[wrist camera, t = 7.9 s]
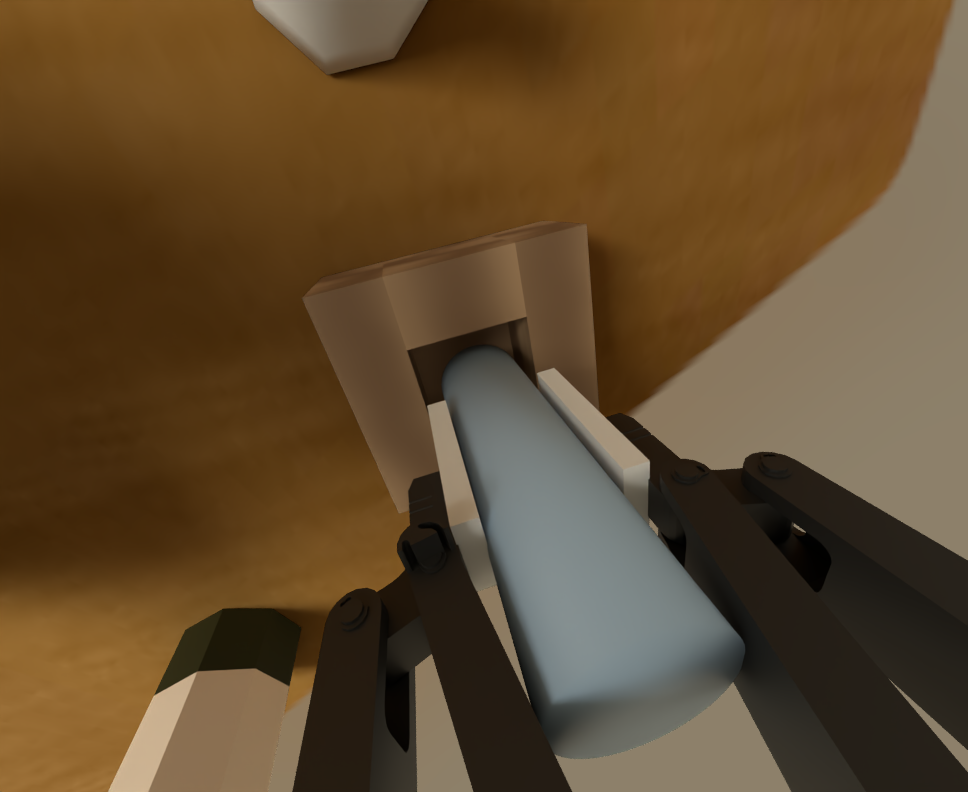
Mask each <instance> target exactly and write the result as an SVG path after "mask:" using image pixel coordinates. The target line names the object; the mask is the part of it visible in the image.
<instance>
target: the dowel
mask: <svg viewBox="0 0 968 792" xmlns="http://www.w3.org/2000/svg"><path fill="white" fill-rule="evenodd" d="M441 386H442V392H443V396H444V400H446V404H447V407H448V410H449V414H450V417H451V420H452V424H453V427H454V431H455V434H456V438H457V441H458V444H459V448H460V451H461V455H462V458H463V462H464V465H465V469H466V472H467V476H468V479H469V482H470V486H471V489H472V493H473V496H474V500H475V503H476V507H477V510H478V514H479V517H480V521H481V524H482V527H483V531H484V534H485V538H486V541H487V547H488V554H489V559H490V562H491V566H492V569H493V573H494V576H495V580H496V583H497V586H498V590H499V594H500V597H501V601H502V604H503V608H504V611H505V615H506V618H507V622H508V625H509V629H510V633H511V636H512V639H513V643H514V647H515V650H516V653H517V657H518V661H519V664H520V668H521V671H522V675H523V679H524V682H525V686H526V689H527V693H528V696H529V700H530V703H531V707H532V709H533V711H534V713H535V715H536V717H537V719H538V721H539V723H540V725H541V727H542V730H543V732H544V734H545V736H546V738H547V740H548V742H549V744H550V746H551V748H552V751H553V753H554V754H555V755H558V756H561V757H565V758H571V759H572V758H573V759H589V758H597V757H603V756H609V755H613V754H617V753H621V752H624V751H627V750H630V749H633V748H636V747H638V746H641V745H644V744H646V743H649V742H651V741H653V740H655V739H658V738H660V737H662V736H664V735H666V734H668V733H670V732H671V731H673V730H675V729H677V728H678V727H680V726H682V725H683V724H685V723H687V722H688V721H690V720H691V719H693V718H694V717H695V716H697V715H698V714H700V713H701V712H702V711H704V710H705V709H706V708H707V707H709V706H710V705H711V704H712V703H713V702H714V701H716V700H717V699H718V698H719V697H720V696H721V695H722V694H723V693H724V692H725V691H726V690H727V688H728V687H729V686H730V685H731V683H732V682H733V681H734V679H735V678H736V677H737V675H738V673H739V671H740V670H741V667H742V663H743V659H744V655H745V645H744V642H743V640H742V639H741V637H740V636H739V635H738V634H737V632H736V631H735V630H734V629H733V628H732V626H731V625H730V624H729V623H728V621H727V620H726V619H725V618H724V617H723V615H722V614H721V613H720V612H719V610H718V609H717V608H716V607H715V605H714V604H713V603H712V602H711V601H710V599H709V598H708V597H707V596H706V594H705V593H704V592H703V591H702V590H701V588H700V587H699V586H698V585H697V583H696V582H695V581H694V580H693V579H692V577H691V576H690V575H689V574H688V572H687V571H686V570H685V569H684V568H683V566H682V565H681V564H680V563H679V561H678V560H677V559H676V558H675V557H674V555H673V554H672V553H671V552H670V550H669V549H668V548H667V547H666V546H665V544H664V543H663V542H662V541H661V539H660V538H659V537H658V536H657V535H656V533H655V532H654V531H653V530H652V528H650V526H649V525H648V524H647V522H646V521H645V520H644V519H643V517H642V516H641V515H640V514H639V513H638V511H637V510H636V509H635V508H634V506H633V505H632V504H631V503H630V502H629V500H628V499H627V498H626V497H625V495H624V494H623V493H622V492H621V491H620V489H619V488H618V487H617V486H616V484H615V483H614V482H613V481H612V479H611V478H610V477H609V476H608V475H607V473H606V472H605V471H604V470H603V468H602V467H601V466H600V465H599V464H598V462H597V461H596V460H595V459H594V457H593V456H592V455H591V454H590V453H589V451H588V450H587V449H586V448H585V446H584V445H583V444H582V443H581V442H580V440H579V439H578V438H577V437H576V435H575V434H574V433H573V432H572V431H571V429H570V428H569V427H568V426H567V424H566V423H565V422H564V421H563V420H562V418H561V417H560V416H559V415H558V413H557V412H556V411H555V410H554V409H553V407H552V406H551V405H550V404H549V402H548V401H547V400H546V399H545V398H544V396H543V395H542V394H541V393H540V391H539V390H538V389H537V388H536V387H535V385H534V384H533V383H532V382H531V380H530V379H529V378H528V377H527V376H526V374H525V373H524V372H523V371H522V369H521V368H520V367H519V366H518V365H517V363H516V362H515V361H514V360H513V358H512V357H511V356H510V355H509V354H508V353H507V352H506V351H504V350H503V349H501V348H499V347H496V346H492V345H475V346H471V347H468V348H466V349H464V350H462V351H460V352H459V353H457V354H456V355H455V356H454V357H453V358H452V359H451V360H450V361H449V363H448V364H447V366H446V368H445V370H444V372H443V376H442V382H441Z"/></svg>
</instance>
